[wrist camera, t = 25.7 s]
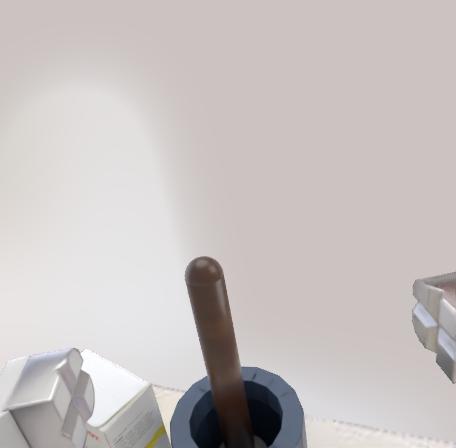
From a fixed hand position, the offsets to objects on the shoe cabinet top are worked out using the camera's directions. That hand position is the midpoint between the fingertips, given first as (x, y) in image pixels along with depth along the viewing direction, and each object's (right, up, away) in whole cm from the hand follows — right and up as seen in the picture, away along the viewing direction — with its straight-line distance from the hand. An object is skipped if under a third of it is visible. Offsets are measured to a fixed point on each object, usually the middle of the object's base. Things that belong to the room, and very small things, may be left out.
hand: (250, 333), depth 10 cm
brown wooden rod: (+1, -19, +22) cm, 29 cm away
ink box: (-9, -20, +26) cm, 34 cm away
